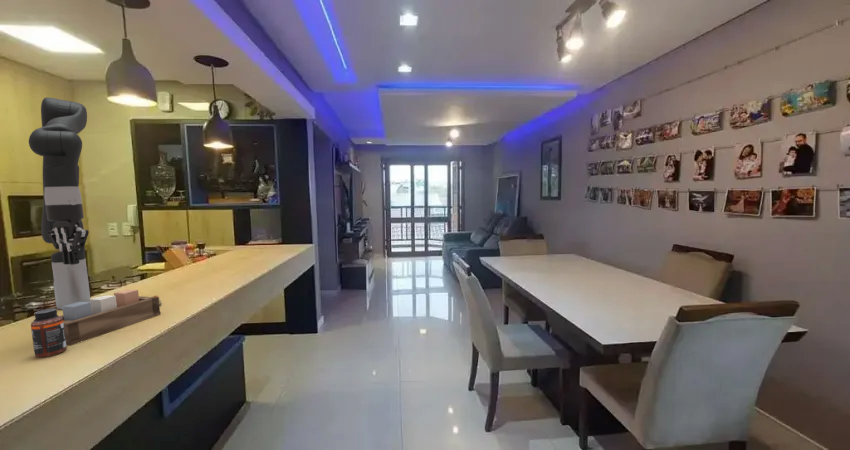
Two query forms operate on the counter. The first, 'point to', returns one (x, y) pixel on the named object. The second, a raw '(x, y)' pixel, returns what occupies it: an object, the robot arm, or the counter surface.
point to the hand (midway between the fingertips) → (71, 263)
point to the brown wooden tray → (110, 320)
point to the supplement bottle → (48, 333)
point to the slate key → (77, 311)
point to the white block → (103, 304)
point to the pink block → (126, 297)
